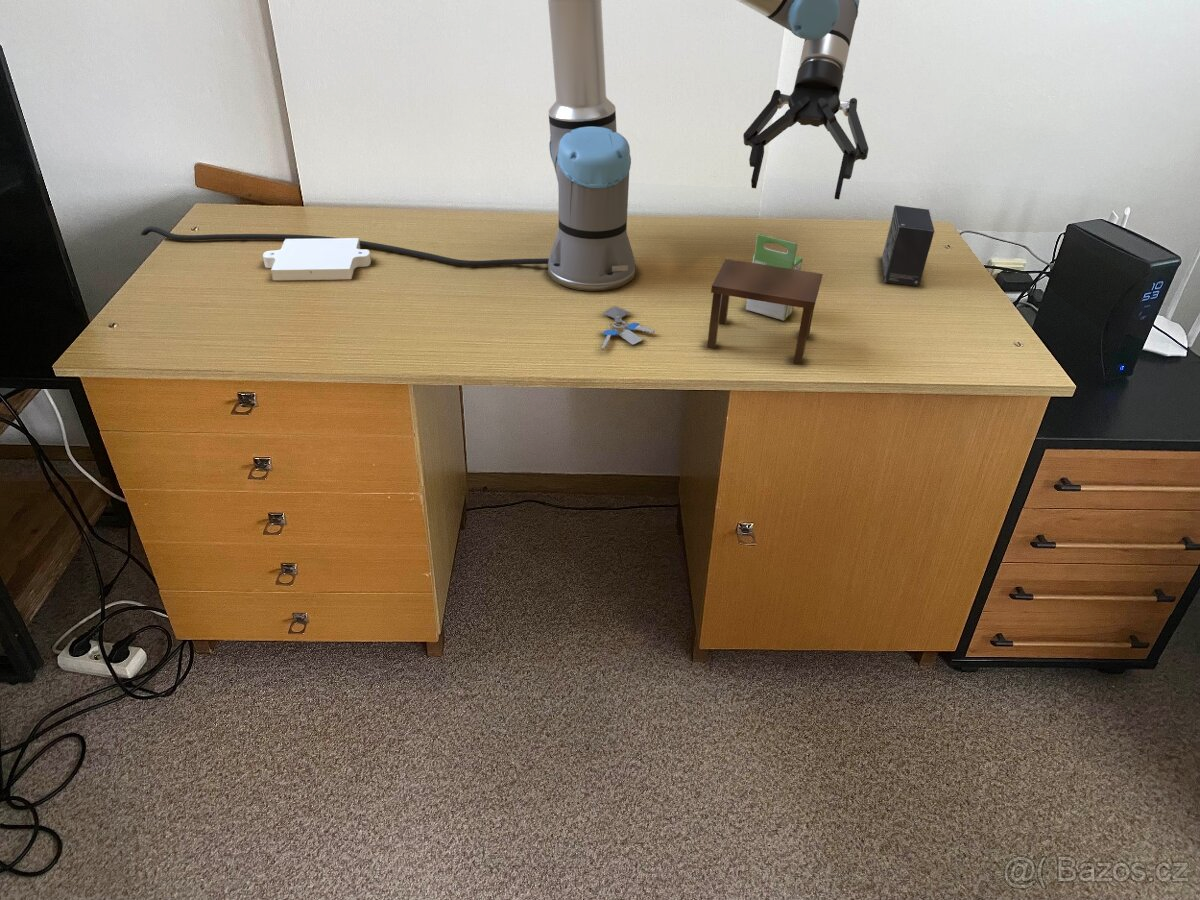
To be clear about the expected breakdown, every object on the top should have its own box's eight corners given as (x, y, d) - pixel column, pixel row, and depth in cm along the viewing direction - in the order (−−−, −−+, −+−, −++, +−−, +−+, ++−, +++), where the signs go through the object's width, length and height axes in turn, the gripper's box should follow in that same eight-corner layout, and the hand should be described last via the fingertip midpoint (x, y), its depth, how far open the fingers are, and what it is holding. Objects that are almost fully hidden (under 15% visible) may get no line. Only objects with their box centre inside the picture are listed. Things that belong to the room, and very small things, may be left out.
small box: (921, 287, 154) (936, 230, 148) (883, 283, 155) (896, 226, 148) (916, 262, 162) (930, 207, 156) (880, 258, 163) (893, 204, 157)
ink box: (793, 312, 145) (807, 235, 137) (784, 322, 142) (797, 244, 134) (754, 301, 148) (766, 225, 140) (744, 310, 145) (755, 233, 137)
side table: (704, 347, 135) (711, 285, 128) (717, 318, 142) (725, 258, 136) (802, 365, 131) (815, 302, 125) (811, 334, 139) (822, 273, 133)
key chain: (603, 308, 144) (603, 303, 143) (653, 310, 144) (654, 305, 143) (600, 351, 133) (600, 346, 132) (655, 353, 133) (655, 348, 132)
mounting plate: (257, 280, 149) (255, 270, 148) (273, 249, 159) (271, 239, 158) (366, 279, 150) (364, 268, 149) (374, 247, 161) (373, 237, 160)
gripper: (895, 92, 147) (870, 210, 144) (747, 76, 152) (721, 190, 150) (901, 65, 140) (875, 189, 137) (745, 50, 145) (718, 169, 143)
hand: (794, 190), depth 143 cm, fingers open, 13 cm apart
